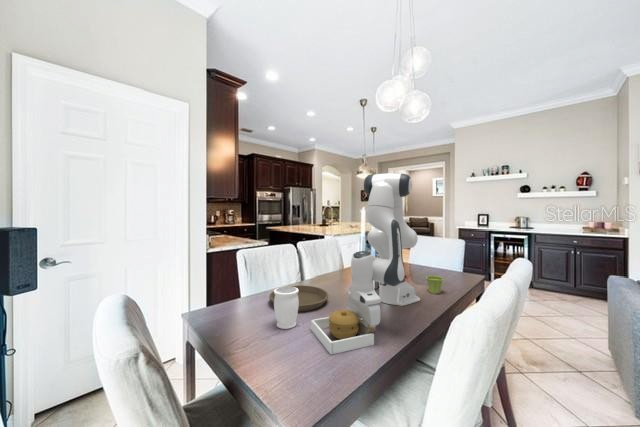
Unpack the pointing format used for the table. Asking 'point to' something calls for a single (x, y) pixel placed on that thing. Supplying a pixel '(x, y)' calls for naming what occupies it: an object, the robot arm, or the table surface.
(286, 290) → the jar
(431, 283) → the plant pot
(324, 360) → the table surface
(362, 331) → the scraper
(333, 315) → the pot
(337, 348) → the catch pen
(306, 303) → the plant saucer
